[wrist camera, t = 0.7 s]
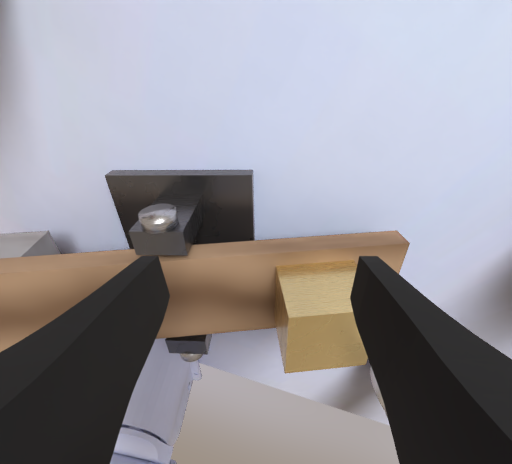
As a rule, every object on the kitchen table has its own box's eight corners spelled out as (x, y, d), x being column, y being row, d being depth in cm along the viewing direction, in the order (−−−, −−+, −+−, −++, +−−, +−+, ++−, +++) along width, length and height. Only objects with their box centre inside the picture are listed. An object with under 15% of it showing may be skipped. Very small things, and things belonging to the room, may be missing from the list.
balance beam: (358, 277, 24) (382, 317, 20) (10, 306, 22) (-35, 356, 18) (375, 209, 20) (409, 243, 16) (-43, 236, 18) (-114, 282, 14)
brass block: (341, 312, 19) (365, 364, 16) (274, 318, 19) (284, 373, 16) (353, 259, 17) (385, 309, 13) (276, 265, 16) (288, 317, 13)
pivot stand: (256, 308, 26) (253, 368, 21) (156, 306, 26) (129, 364, 21) (252, 169, 18) (245, 211, 13) (112, 170, 19) (53, 210, 14)
